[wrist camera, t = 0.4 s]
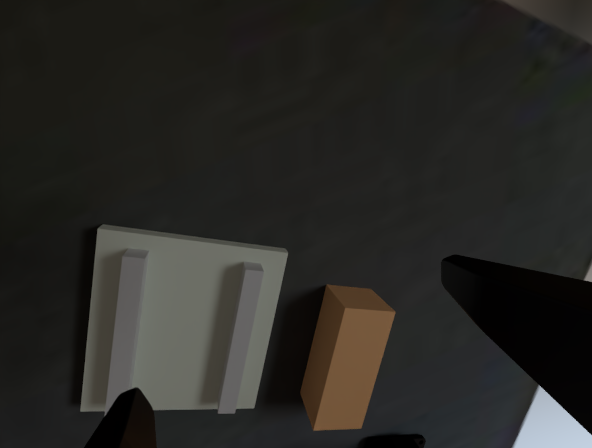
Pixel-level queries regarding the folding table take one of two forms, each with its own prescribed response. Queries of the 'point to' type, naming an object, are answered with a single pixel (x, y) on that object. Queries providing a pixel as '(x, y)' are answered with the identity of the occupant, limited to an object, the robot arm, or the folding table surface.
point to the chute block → (345, 357)
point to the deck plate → (179, 319)
